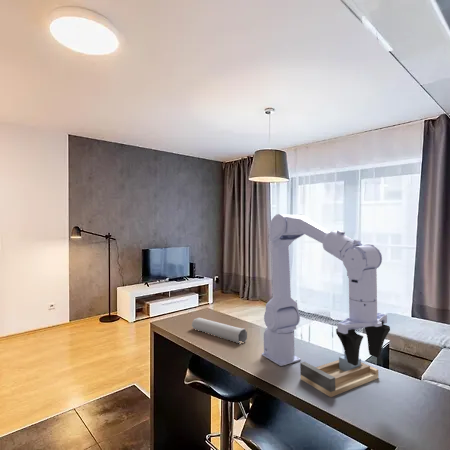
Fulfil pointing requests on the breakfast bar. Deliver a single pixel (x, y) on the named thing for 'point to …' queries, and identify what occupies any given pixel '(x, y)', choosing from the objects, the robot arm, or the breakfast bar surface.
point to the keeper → (345, 365)
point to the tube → (220, 330)
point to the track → (336, 377)
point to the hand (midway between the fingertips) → (363, 359)
